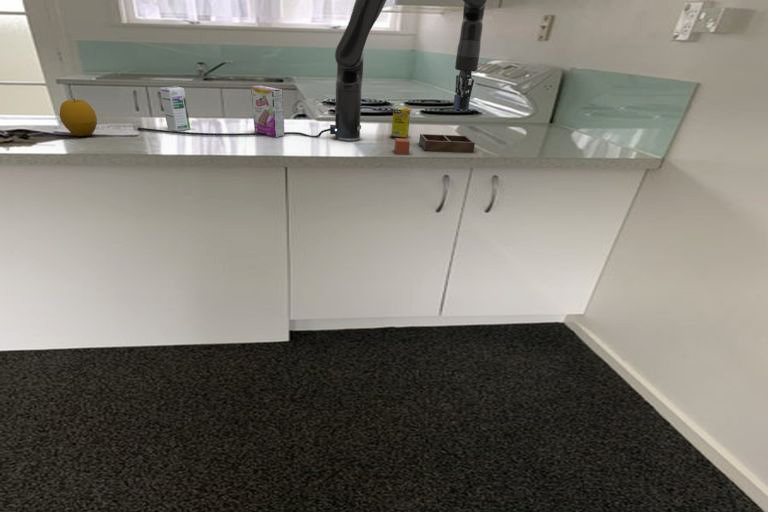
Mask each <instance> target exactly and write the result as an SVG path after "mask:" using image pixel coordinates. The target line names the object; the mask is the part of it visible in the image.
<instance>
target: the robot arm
mask: <svg viewBox="0 0 768 512" xmlns="http://www.w3.org/2000/svg"><path fill="white" fill-rule="evenodd" d="M386 2H387V0H355V1H354V4H353V7H352V11H351V14H350V18H349V21H348V23H347V26H346V27H345V30H344V32H343V34H342V36H341V38H340V40H339V42H338V43H337V45H336V48H335V50H334V59H335V62H336V64H337V65H336V80H335V110H334V111H335V113H334V114H335V115H334V117H335V118H334V119H335V120H334V123H335V124H329V128H326V129H323V130H321V131H320V132H319V133H318V134H317V135H310V134H306V133H304V132H299V131H290V132H289V131H284V134H285V135H298V136H299V135H300V136H303V137H308V138H314V139H316V138H320V137H321V135H322V134H323V133H326V132H329V135H334V140H339V141H344V142H356V141H359V140H360V139H361V130H362V125H361V115H362V114H361V110H362V86H363V76H364V49H365V45H366V42H367V40H368V37H369V34H370V32H371V31H372V28H373V26H374V25H375V23H376V21H377V20H378V18H379V17H380V15H381V14H382V11H383V9H384V7H385V5H386ZM462 2H463V11H462V22H461V25H460V33H459V40H458V44H457V49H456V58H455V65H454V69H455V70H456V71H459V74H457V75H456V76H455V88H454V93H455V95H461V100H460V109H463V110H462V111H466V110H465V109H466V105H467V98H469V97H470V98H471V95H472V92H473V87H474V83H475V79H473V76H472V73H473V72H476V71H478V67H479V60H480V53H481V42H482V41H481V40H482V35H483V29H484V28H483V24H484V23H483V20H484V15H485V9H486V4H487V2H488V0H462ZM137 130H138V131H145V132H146V131H147V132H155V133H156V132H157V133H164V134H165V133H166V134H174V135H175V134H178V135H189V136H211V137H212V136H213V137H214V136H216V137H218V136H219V137H222V136H223V137H225V136H227V137H229V136H230V137H233V136H234V137H238V136H243V137H244V136H268V135H267V134H266V133H256V132H240V133H239V132H237V133H233V132H232V133H229V132H228V133H227V132H226V133H225V132H224V133H223V132H219V133H218V132H194V131H193V132H192V131H190V132H189V131H174V130H167V129H166V130H165V129H156V128H147V127H138V126H137Z"/></svg>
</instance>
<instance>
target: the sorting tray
mask: <svg viewBox="0 0 768 512" xmlns="http://www.w3.org/2000/svg"><path fill="white" fill-rule="evenodd" d="M418 144H419V145H420V147H421V148H422V149H423V150H424V152H444V153H447V152H448V153H472V154H473V153H474V152H475V145H476V142H475V141H473V140H472V139H471V138H470V137H468V136H467V135H457V134H456V135H455V134H453V135H452V134H432V133H431V134H429V133H420V134H419V140H418Z"/></svg>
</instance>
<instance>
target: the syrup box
mask: <svg viewBox="0 0 768 512" xmlns="http://www.w3.org/2000/svg"><path fill="white" fill-rule="evenodd" d="M159 91H160V95H161V101H162V106H163V111H164V112H163V113H164V116H165V117H164V118H165V121H166V127H167V129H168V130H169V131H179V132H181V131H186V130H191V124H190V118H189V110H188V105H187V97H186V92H185V88H184V87H182V86H175V85H173V86H165V87H164V86H162V87H159Z"/></svg>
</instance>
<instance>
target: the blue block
mask: <svg viewBox="0 0 768 512" xmlns="http://www.w3.org/2000/svg"><path fill="white" fill-rule="evenodd" d="M460 100H461V95H456V94H454V98H453V106H452V108H453V109H455V110H459V111H469V109H470V100H471V96H470V97H469V98H467V105H466V109H465V110H463V109H460Z"/></svg>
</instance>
